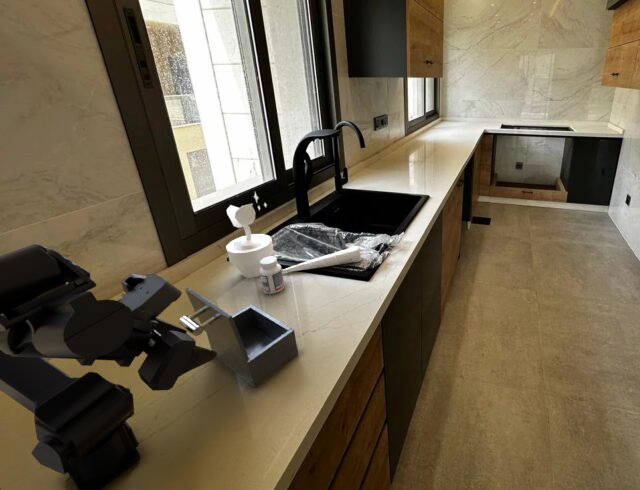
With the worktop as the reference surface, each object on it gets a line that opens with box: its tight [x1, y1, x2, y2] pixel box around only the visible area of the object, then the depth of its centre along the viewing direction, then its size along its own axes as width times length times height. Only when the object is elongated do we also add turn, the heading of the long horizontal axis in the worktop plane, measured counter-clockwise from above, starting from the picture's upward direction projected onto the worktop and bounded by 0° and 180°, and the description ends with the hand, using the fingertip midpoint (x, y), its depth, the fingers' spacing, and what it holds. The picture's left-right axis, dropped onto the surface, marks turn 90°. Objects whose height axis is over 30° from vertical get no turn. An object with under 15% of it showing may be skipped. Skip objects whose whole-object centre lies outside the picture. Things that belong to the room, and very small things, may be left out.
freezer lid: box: [178, 287, 249, 362], centre depth 57 cm, size 10×15×4 cm
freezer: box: [205, 304, 299, 389], centre depth 66 cm, size 10×15×6 cm, turn 58°
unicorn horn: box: [282, 245, 362, 273], centre depth 98 cm, size 5×24×5 cm, turn 106°
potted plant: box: [226, 192, 275, 279], centre depth 91 cm, size 13×12×25 cm
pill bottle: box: [259, 255, 286, 295], centre depth 87 cm, size 5×5×9 cm
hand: (199, 344), depth 53 cm, fingers open, 9 cm apart
